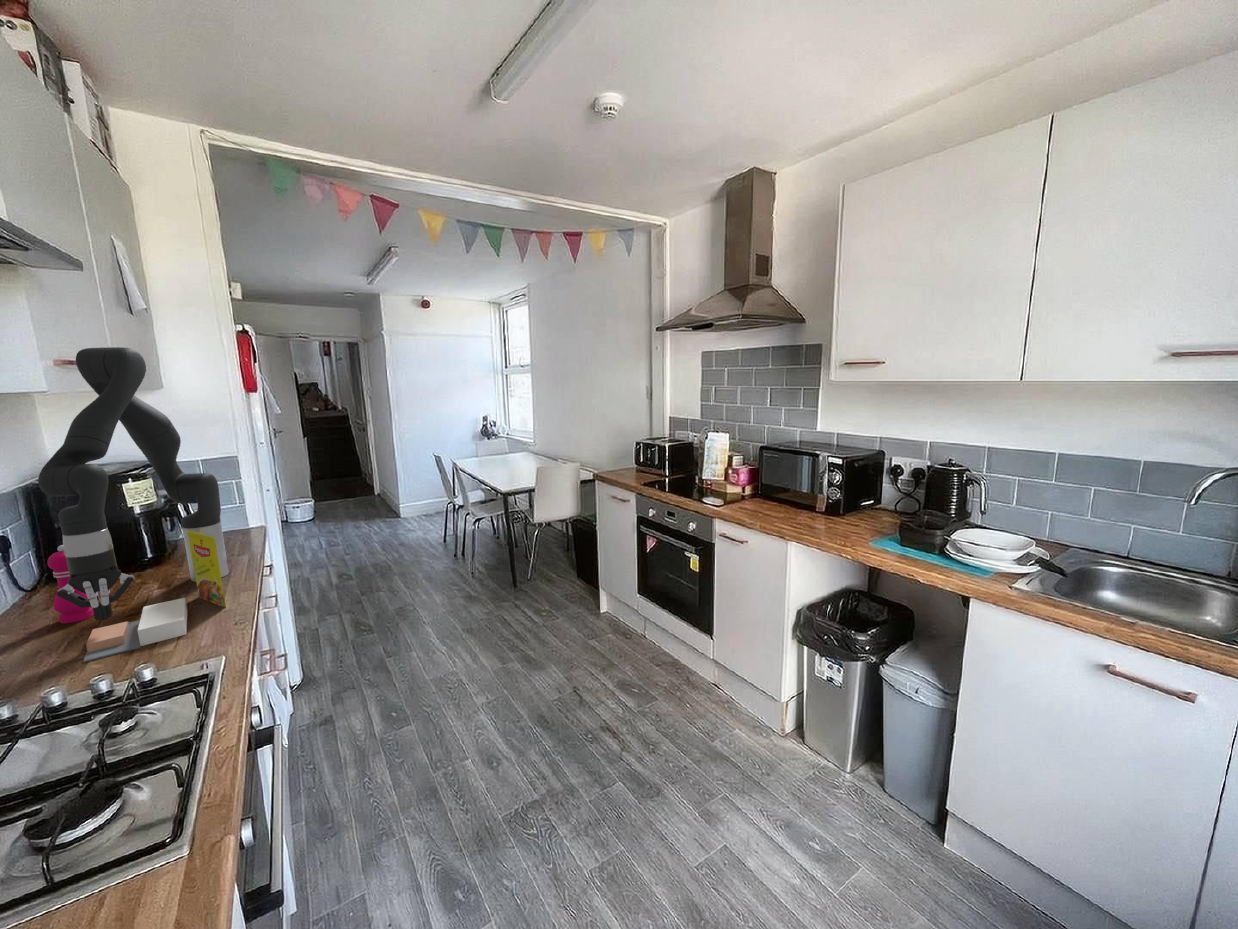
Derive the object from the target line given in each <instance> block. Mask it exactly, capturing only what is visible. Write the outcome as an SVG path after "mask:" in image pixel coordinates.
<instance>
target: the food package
mask: <svg viewBox="0 0 1238 929" xmlns="http://www.w3.org/2000/svg"><path fill="white" fill-rule="evenodd" d="M187 532H188V537H189V543H190V549H191V555H192V561H193V566H194V572H195V578H196V582H195V583H196V588H197V594H198V598H200V599H201V600H202V599H203V600H205V601H208V602H210V603H212V604H215V605H217V606H220V607H222V608H227V605H226V598H225V592H224V585H223V579H222V577H221V573H220V566H219V560H218V554H217V548H216V543H215V538H214V537H211V536H207V535H203V534H200V533H196V532H192V531H189V530H187Z"/></svg>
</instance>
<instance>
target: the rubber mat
mask: <svg viewBox="0 0 1238 929" xmlns="http://www.w3.org/2000/svg"><path fill="white" fill-rule="evenodd" d="M139 623H140V619H139V620H138V619H137V620H134V621H131V622H129V621H128V624H129V632H128V635H127V639H126V642H125V643H124V644H120V645H116V646H112V647H108V648H104V649H100V650H96V651H92V652H88V651H87V650H86V653H85V655H84V658H83V660H82V662H83V664H85V663H88V662H92V661H95V660H99V659H103V658H106V657H107V658H108V657H111V656H115V655H120V654H123V653H126V652H130V651H134V650H138V649H141V647H142V646H140V641H139V635H138V626H139Z"/></svg>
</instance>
